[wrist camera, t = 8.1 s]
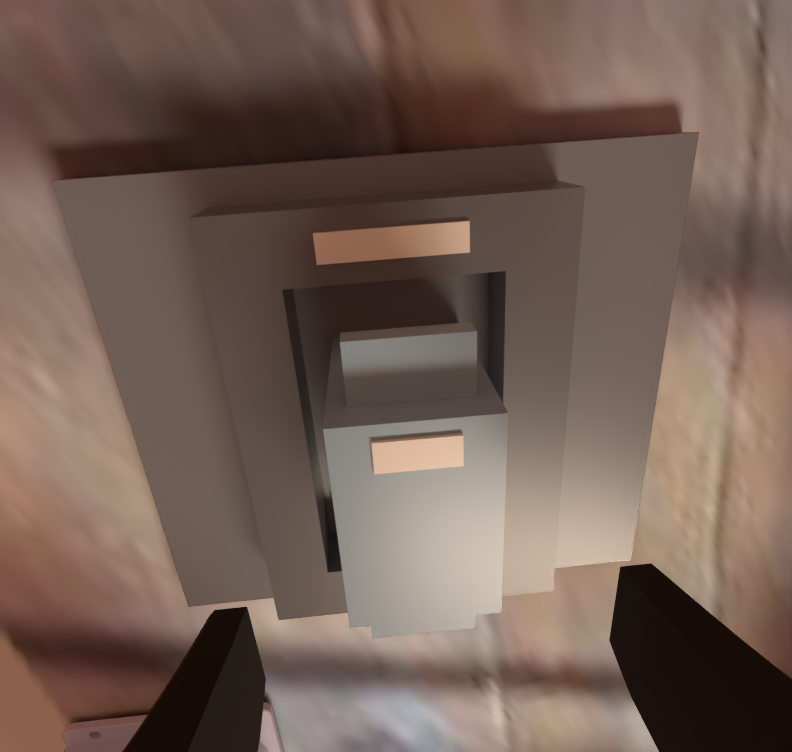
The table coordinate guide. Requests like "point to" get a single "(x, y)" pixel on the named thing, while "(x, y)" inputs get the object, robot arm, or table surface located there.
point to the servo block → (416, 477)
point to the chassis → (380, 309)
